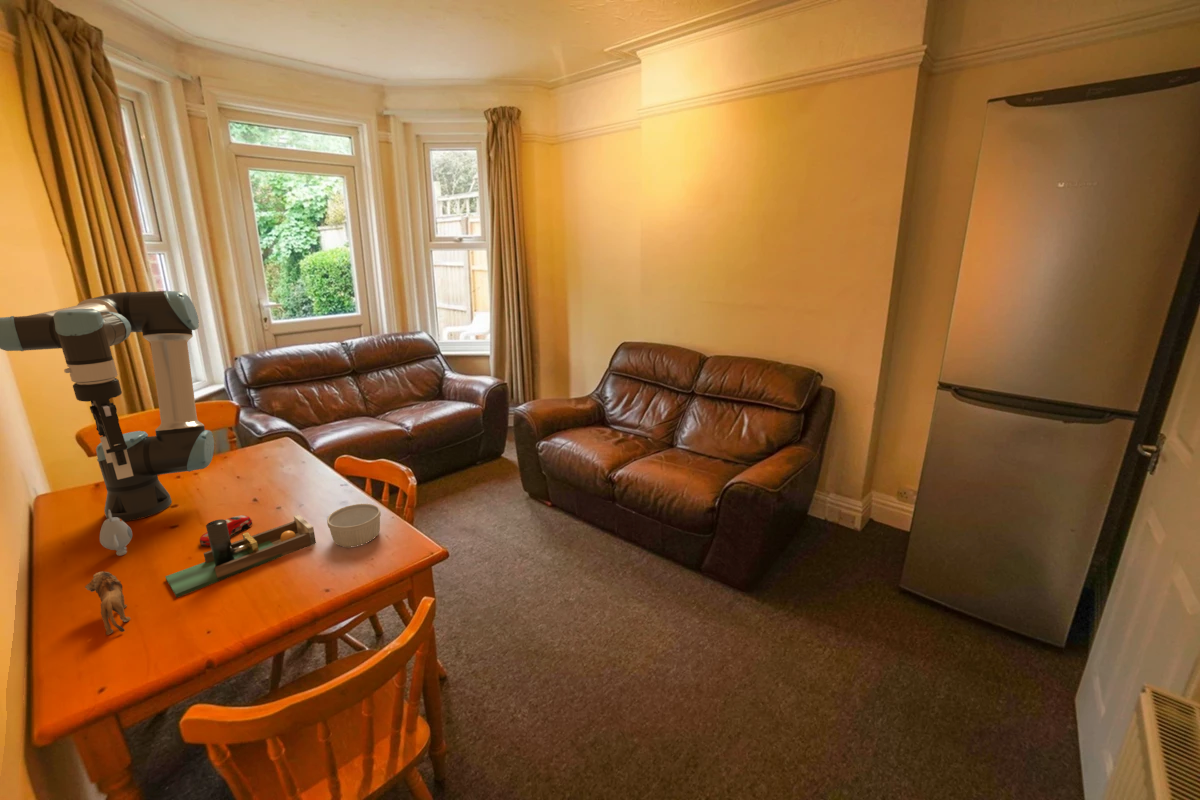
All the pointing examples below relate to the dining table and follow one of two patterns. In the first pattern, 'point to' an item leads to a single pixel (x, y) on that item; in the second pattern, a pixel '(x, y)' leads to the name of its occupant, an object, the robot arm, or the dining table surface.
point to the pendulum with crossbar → (227, 542)
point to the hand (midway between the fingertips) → (119, 469)
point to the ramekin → (354, 524)
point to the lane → (243, 557)
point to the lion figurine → (109, 598)
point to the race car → (231, 528)
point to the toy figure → (115, 534)
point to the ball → (287, 535)
